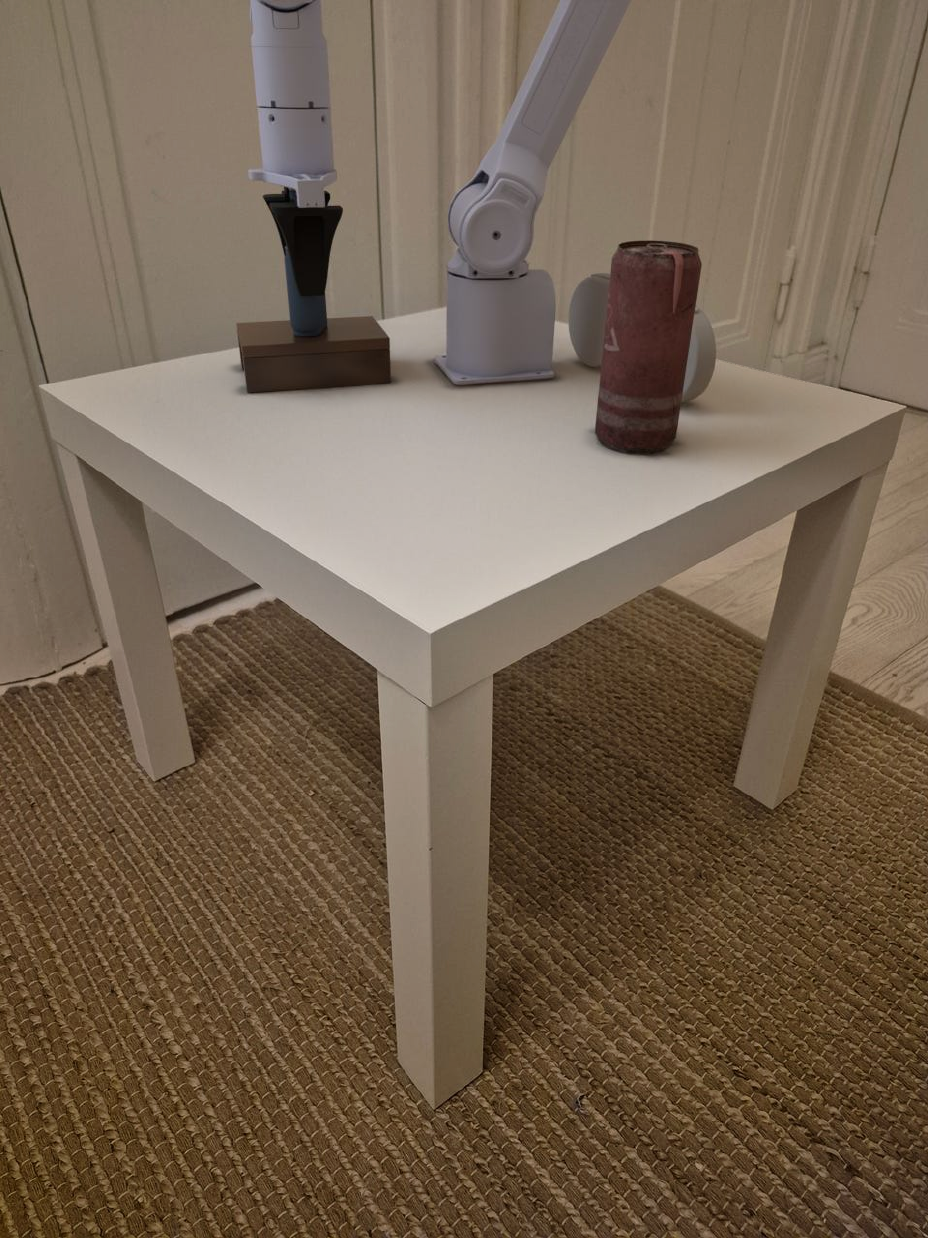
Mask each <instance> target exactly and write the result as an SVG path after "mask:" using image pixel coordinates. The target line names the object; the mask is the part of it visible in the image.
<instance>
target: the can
mask: <svg viewBox="0 0 928 1238" xmlns="http://www.w3.org/2000/svg"><path fill="white" fill-rule="evenodd" d="M610 262H611V263H610V273H609V274H610V282H609V292H608V303H607V313H606V323H605V333H604V344H603V354H602V364H601V367H600V375H599V385H598V394H597V395H598V396H597V406H596V417H595V426H594V434H595V436H596V438H597V441H598V442H599V443H600V444H601V445H602V446H604V447H605V448H607V449H609V450H612V451H615V452H618V453H624V454H628V455H629V454H631V455H651V454H652V455H653V454H657V453H661V452H664V451H666V450H668V449H669V448H670V446H671V445H672V444H673V443H674V441H675V440H677V435H678V426H679V419H680V414H681V413H680V412H681V407H682V402H681V401H682V394H683V387H684V380H685V374H686V367H687V360H688V354H689V347H690V340H691V333H692V327H693V320H694V313H695V307H696V305H697V300H698V292H699V287H700V286H699V285H700V279H701V272H702V265H703V263H702V261H701V257H700V255H699V248H698V246H695V245H693V244H688V243H685V242H684V243H683V242H676V241H670V240H669V241H667V240H648V239H647V240H630V241H625V242H621V243H619V244H618V245H617V249H616V250H615V252H614V253H613V255H612V257H611V261H610Z"/></svg>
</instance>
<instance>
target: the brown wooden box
mask: <svg viewBox="0 0 928 1238" xmlns="http://www.w3.org/2000/svg"><path fill="white" fill-rule="evenodd" d="M235 325H236V326H235V327H236V333H237V342H238V352H239V359H240V367H241V370H242V371H244V380H245V389H246V393H247V394H251V393H267V392H281V391H293V390H294V391H295V390H307V389H322V388H335V387H350V386H352V387H353V386H363V385H364V386H366V385H379V384H380V385H381V384H391V383H392V374H391V373H392V371H391V339H390V336H389V335H388V334H387V332H386V331H385V330H384V329H383V327H382V326H381V324H379V322H378V321H377V320H376V319H375V317H374V316H373V315H368V316H347V317H346V316H345V317H329V318H328V317H327V326H326V327H325V328H324V329H323V330H322V332H321V333H320V334H319V335H317V336H313V337H300V336H295V335H294V334H293V329H292V327H291V325H290V319H289V320H287V319H286V320H270V321H249V322H236V324H235Z"/></svg>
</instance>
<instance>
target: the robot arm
mask: <svg viewBox="0 0 928 1238" xmlns="http://www.w3.org/2000/svg"><path fill="white" fill-rule="evenodd" d="M631 2H632V0H560V1H559V2H558V4H557V7H556V9H555V11H554V14H553V15H552V18H551V19H550V22H549V24H548V26H547V29H546V30H545V33H544V35H543V37H542V40H541V42H540V43H539V46H538V48H537V50H536V52H535V54H534V57H533V59H532V61H531V63H530V65H529V68H528V70H527V72H526V74H525V76H524V79H523V81H522V83H521V85H520V87H519V90H518V91H517V94H516V96H515V98H514V100H513V103H512V105H511V107H510V109H509V111H508V113H507V116H506V118H505V121H504V122H503V124H502V126H501V129H500V131H499V132H498V136H497V137H496V139H495V141H494V143H492V145H491V146H490V148H489V149H488V151H487V153H486V154H485V155H484V157H483V158H482V160H481V161H480V164H479V165H478V166H479V167H478V169H477V170H476V172H475V174H474V175H473V177H472V178H471V179H470V180H469V182H467V183H466V184H465V185H463V186H462V187H461V188H460V189H459V190H458V191H457V192H456V193H455V194H454V195H453V198H452V199H451V201H450V203H449V206H448V209H447V216H446V218H447V219H446V220H447V229H448V232H449V235H450V237H451V239H452V240H453V241H452V242H454V244H455V245H456V246H457V247H458V248H457V249H456V250H455V252H454V255H453V256H452V258H451V259H450V260H449V261H447V262H446V316H445V317H446V324H445V326H446V333H445V335H446V336H445V337H446V338H445V339H446V340H445V341H446V343H445V344H446V345H445V346H446V350H445V351H446V352H445V354H444V355H435V356H434V357H433V362H434V363H435V364H436V365H437V366H438V367H439V369H440V370H441V371H442V372H443V373H444V375H446V376H447V378H448V379H449V380H450V381H451V382H452V384H454V385H457V386H463V385H476V384H487V383H488V384H489V383H491V384H492V383H503V382H518V381H530V380H546V379H553V378H554V377H555V372H554V371H553V370H552V369H553V353H554V341H555V339H554V337H555V323H556V307H557V306H556V301H557V300H556V291H555V285H554V281H553V278H552V276H551V275H550V273H549V271H547V270H545V269H541V268H537V269H536V268H535V269H533V268H530V263H529V262H528V261H527V260H526V258H527V256H528V255H529V253H530V251H531V248H532V246H533V241H534V230H535V219H536V214H537V212H538V210H539V207H540V205H541V203H542V201H543V199H544V195H545V191H546V185H547V179H548V173H549V169H550V167H551V165H552V163H553V161H554V159H555V157H556V155H557V153H558V151H559V148H560V147H561V145H562V142H563V141H564V139H565V137H566V135H567V132H568V130H569V128H570V127H571V124H572V122H573V120H574V119H575V116H576V114H577V111H578V110H579V108H580V106H581V103H582V102H583V99H584V97H585V96H586V94H587V91H588V90H589V87H590V86H591V83H592V81H593V79H594V77H595V75H596V73H597V71H598V69H599V67H600V65H601V63H602V61H603V59H604V57H605V55H606V53H607V51H608V49H609V47H610V45H611V43H612V40H613V38H614V37H615V34H616V32H617V31H618V29H619V26H620V24H621V22H622V20H623V18H624V16H625V14H626V13H627V10H628V8H629V6H630V4H631ZM322 11H323V10H322V0H250V6H249V19H250V20H249V21H250V24H251V26H252V35H251V37H250V44H251V52H252V53H251V55H252V63H253V64H252V66H253V77H254V89H255V99H256V106H257V108H256V109H257V119H258V120H257V121H258V130H259V131H258V132H259V141H260V150H261V162H262V168H250V169H248V170H247V171H248V179H249V180H250V181H254V182H255V181H257V182H259V181H261V182H264V183H267V184H270V185H271V184H272V185H275V186H279V187H282V188H283V190H281V193H267V194H263V195H262V199H263V200H264V201H265V204H266V206H267V208H268V210H269V212H270V214H271V216H272V218H273V221H274V224H275V227H276V229H277V232H278V235H279V239H280V243H281V247H282V252H283V256H284V257H285V256H286V249H285V246H287V249H288V253H289V257H290V262H291V267H292V271H293V276H294V280H295V284H296V287H297V290H298V292H299V295H300V296H321V295H324V293H325V294H326V288H327V282H328V275H329V266H330V257H331V252H332V246H333V242H334V238H335V235H336V231H337V228H338V227H339V224H340V221H341V220H342V217H343V213H344V208H343V207H342V206H341V205H329V203H330V200H331V193H330V192H328V191H327V190H325V188H327V187H328V186H330V185H332V184H334V183H336V182H337V180H338V171H337V169H335V161H334V159H335V158H334V144H333V143H334V141H333V124H332V108H331V107H332V106H331V90H330V70H329V69H330V68H329V52H328V40H327V38H326V36H325V34H324V29H323V28H324V27H323V13H322ZM289 191H296V192H297V193H296V195H294V202H295V204H294V203H290V193H289Z"/></svg>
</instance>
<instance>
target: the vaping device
mask: <svg viewBox="0 0 928 1238" xmlns="http://www.w3.org/2000/svg"><path fill="white" fill-rule="evenodd" d="M289 193H290V203H294V204H295V202H294V195H296V193H297V192H296V191H289ZM285 249H286V256H284V267H285V268H284V270H285V277H286V278H285V279H286V290H287V291H286V293H287V302H288V313H289V320H290V325H291V327H292V329H293V334H294V335H295V336H300V337H313V336H317V335H319V334H320V333H321V332H322V330H323V329H324V328H325V327H326V326H327V318H328V311H327V300H326V292H325V293H324V295H321V296H300V295H299V292H298V290H297V287H296V284H295V280H294V276H293V271H292V267H291V262H290V257H289V253H288V249H287V246H285Z"/></svg>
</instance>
